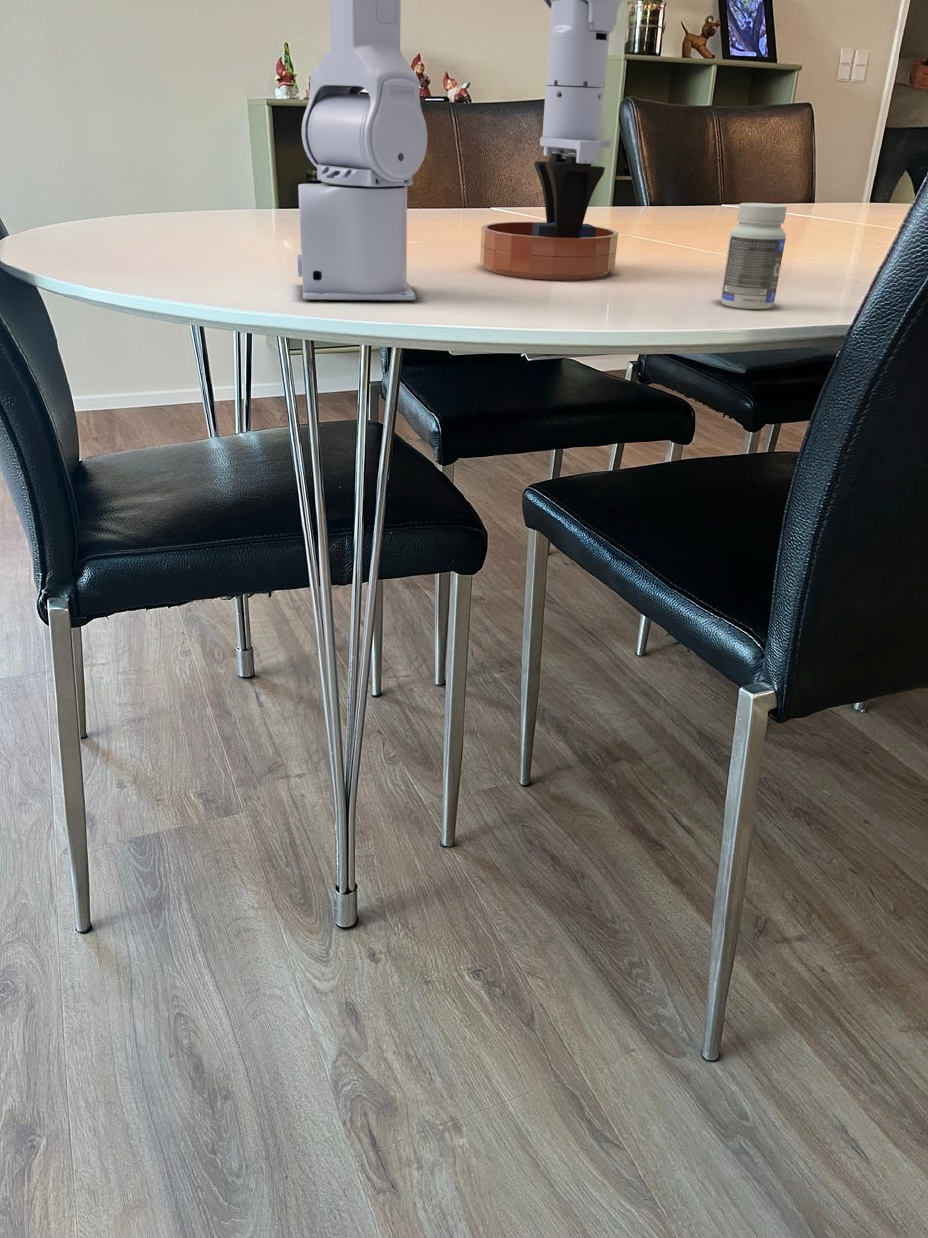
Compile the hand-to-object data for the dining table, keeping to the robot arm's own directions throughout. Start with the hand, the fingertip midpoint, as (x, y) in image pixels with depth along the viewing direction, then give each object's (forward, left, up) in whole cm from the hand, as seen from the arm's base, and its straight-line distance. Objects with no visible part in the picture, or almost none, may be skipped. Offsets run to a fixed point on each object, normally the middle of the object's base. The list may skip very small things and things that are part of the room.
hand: (562, 237), depth 100 cm
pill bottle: (+13, -19, -4) cm, 23 cm away
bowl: (-1, 0, -3) cm, 4 cm away
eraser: (0, 0, -1) cm, 1 cm away
